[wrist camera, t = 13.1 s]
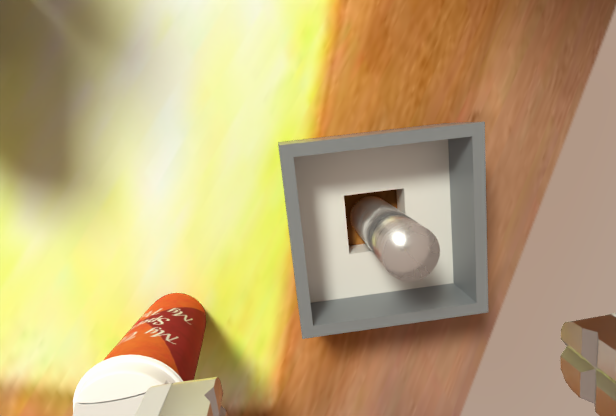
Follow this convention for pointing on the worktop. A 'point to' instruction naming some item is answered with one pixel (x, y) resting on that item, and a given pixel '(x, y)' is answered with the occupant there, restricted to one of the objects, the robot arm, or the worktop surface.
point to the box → (410, 200)
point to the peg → (395, 239)
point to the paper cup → (145, 358)
